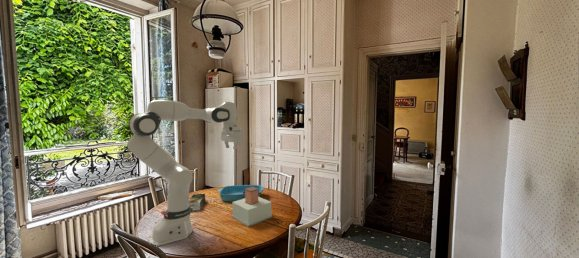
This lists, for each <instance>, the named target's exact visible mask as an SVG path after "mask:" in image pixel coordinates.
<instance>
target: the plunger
mask: <svg viewBox="0 0 579 258" xmlns="http://www.w3.org/2000/svg"><path fill="white" fill-rule="evenodd" d="M245 203H247V204H249V205H252V204H255V203H258V188H255V187H250V188H246V189H245Z"/></svg>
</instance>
